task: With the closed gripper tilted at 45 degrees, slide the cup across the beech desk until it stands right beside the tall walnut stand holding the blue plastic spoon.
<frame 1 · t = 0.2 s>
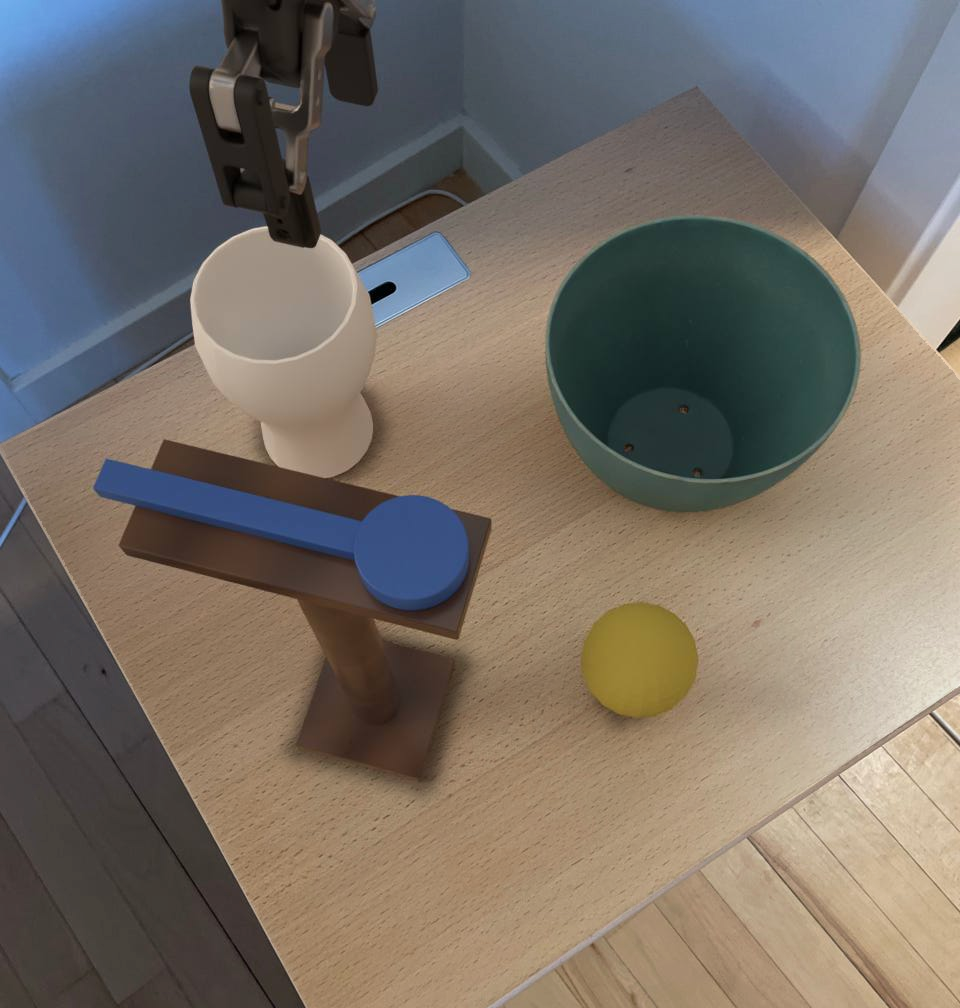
hand: (326, 167, 47), 25 cm above the table, tool pointing down, fingers open, 8 cm apart
spoon: (304, 531, 40), resting on spoon stand
spoon stand: (378, 705, 65), on the table
yellow ball: (625, 693, 65), on the table
cup: (318, 432, 72), on the table
plant pot: (668, 449, 71), on the table
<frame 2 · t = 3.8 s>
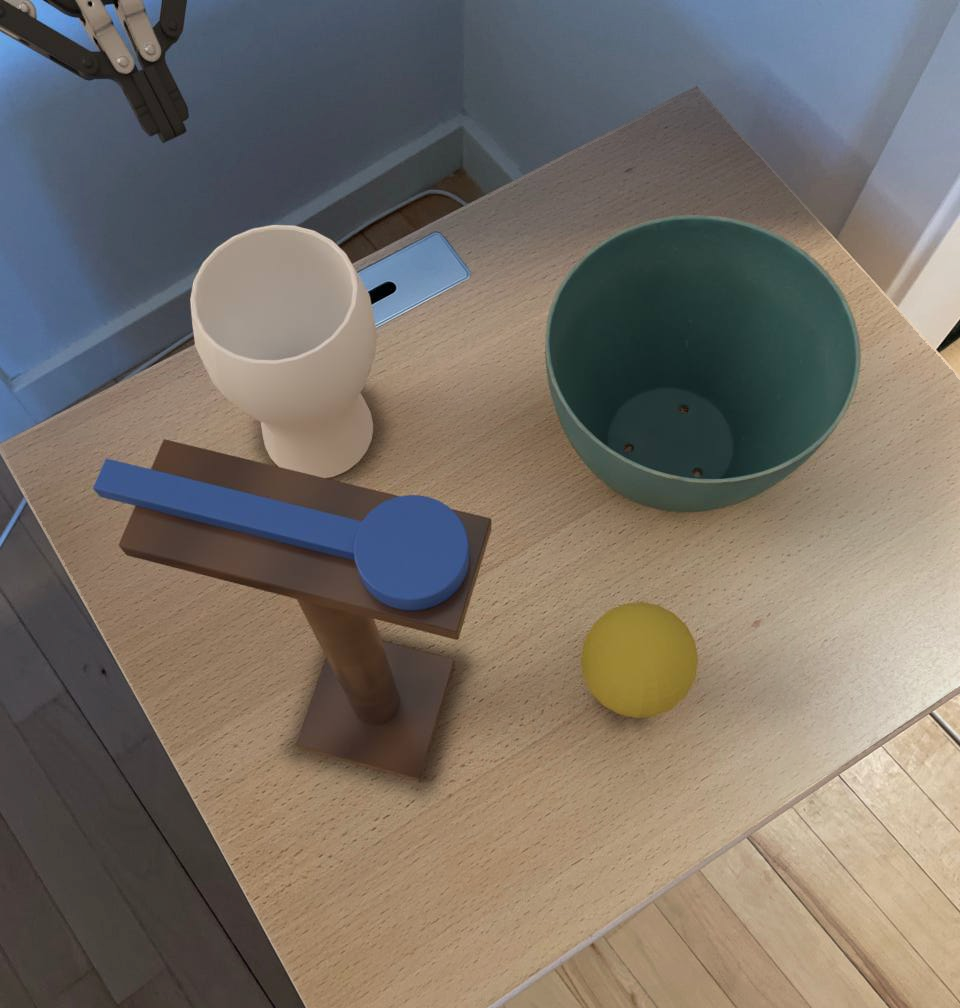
hand: (174, 136, 61), 15 cm above the table, tool tilted 45°, fingers closed
nothing on the table moved.
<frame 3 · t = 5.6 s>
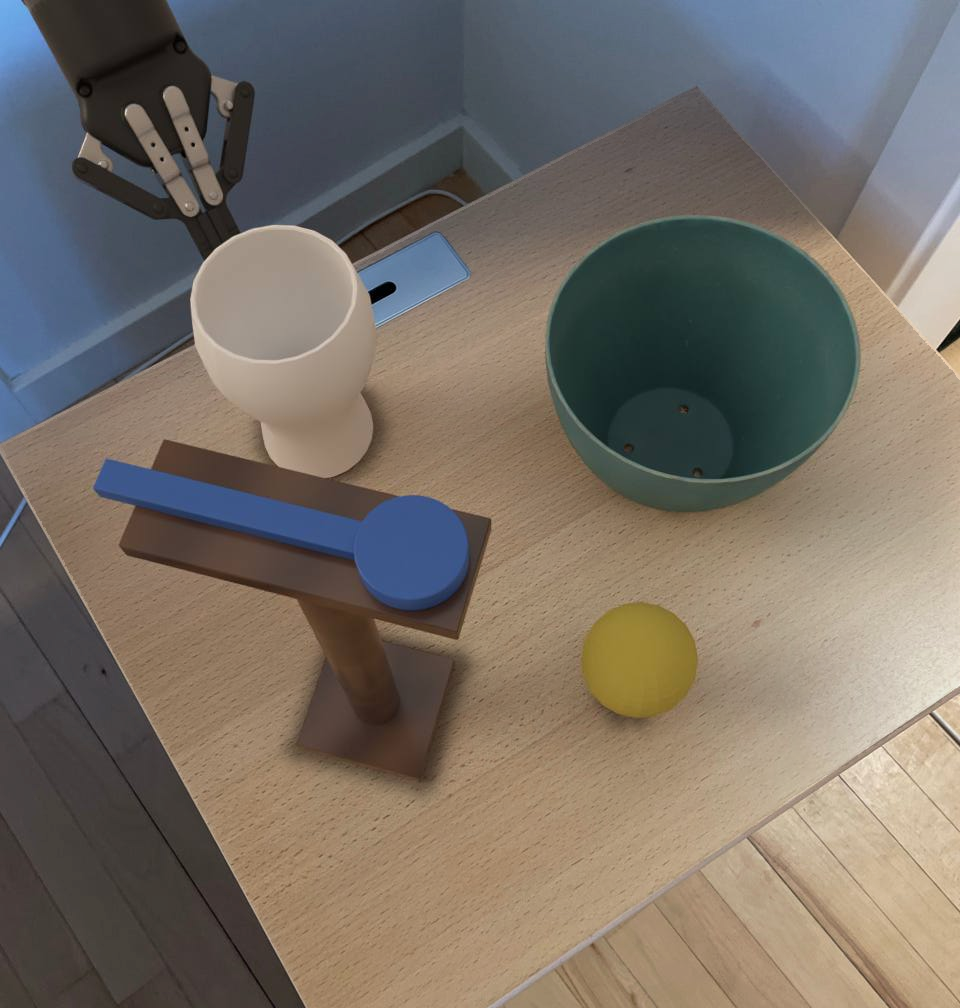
hand: (233, 267, 68), 7 cm above the table, tool tilted 45°, fingers closed
nothing on the table moved.
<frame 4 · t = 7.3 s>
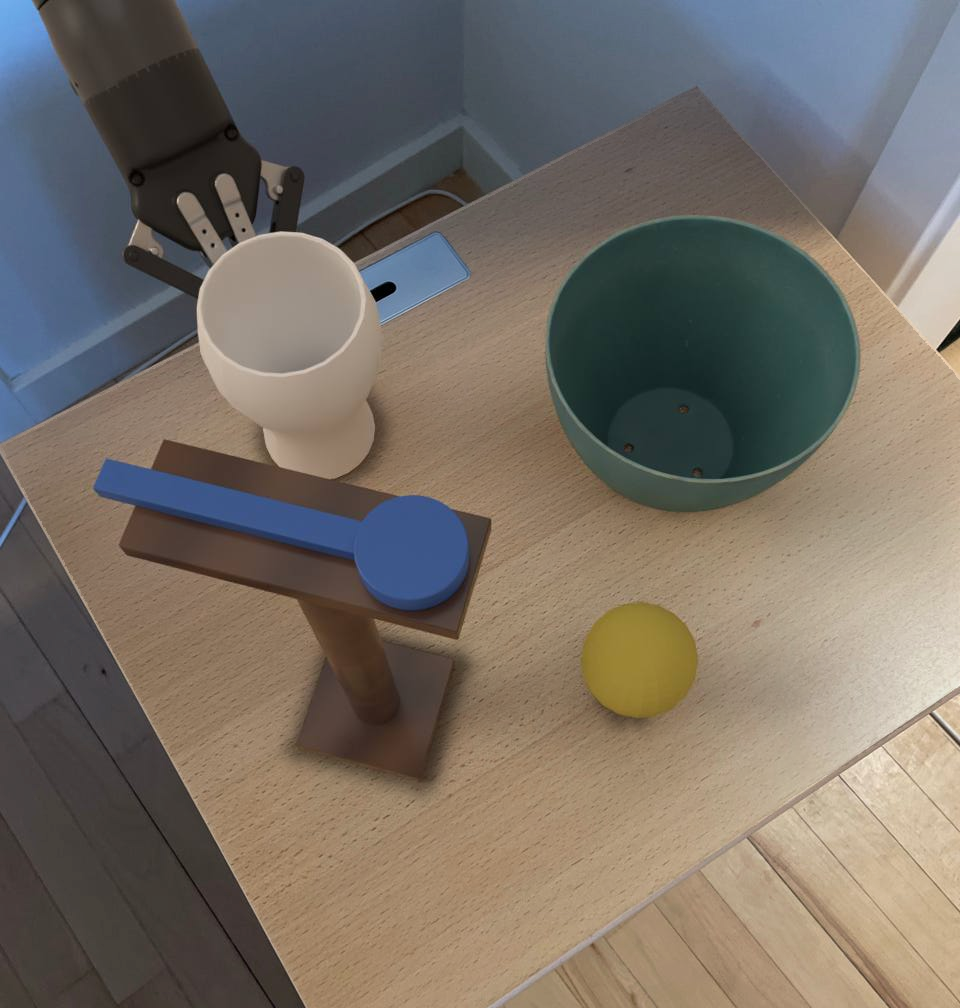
hand: (280, 346, 68), 5 cm above the table, tool tilted 45°, fingers closed
cup: (320, 432, 71), on the table, touching gripper
everything else where it was.
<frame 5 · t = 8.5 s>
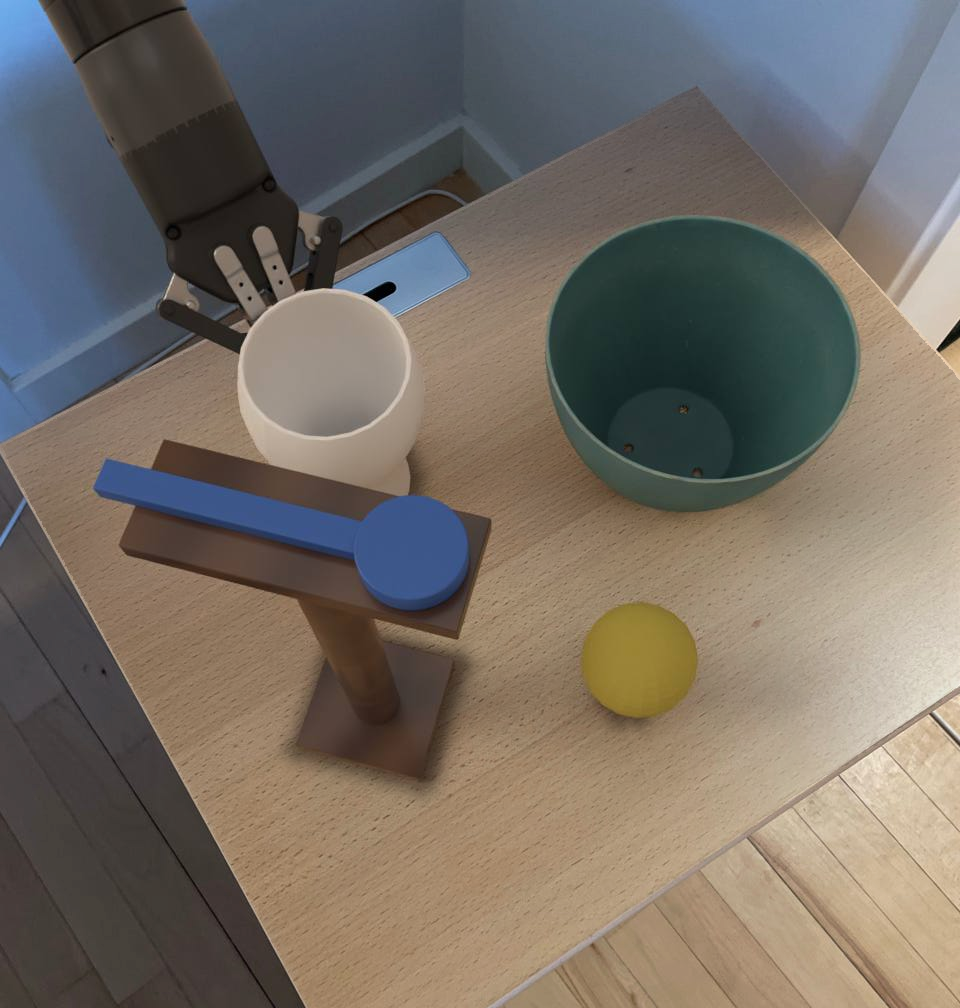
hand: (315, 397, 66), 5 cm above the table, tool tilted 45°, fingers closed
cup: (354, 482, 70), on the table, touching gripper
everything else where it was.
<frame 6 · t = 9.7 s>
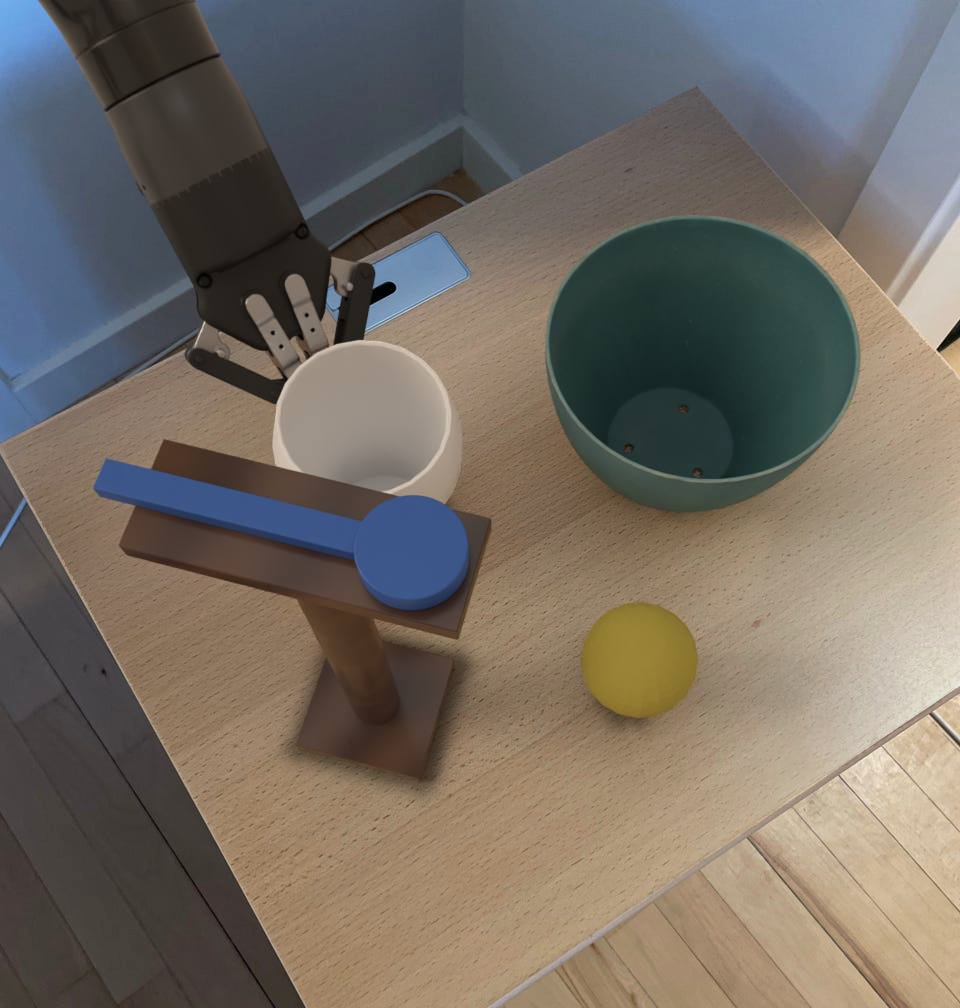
hand: (345, 443, 65), 5 cm above the table, tool tilted 45°, fingers closed
cup: (384, 526, 69), on the table, touching gripper
everything else where it was.
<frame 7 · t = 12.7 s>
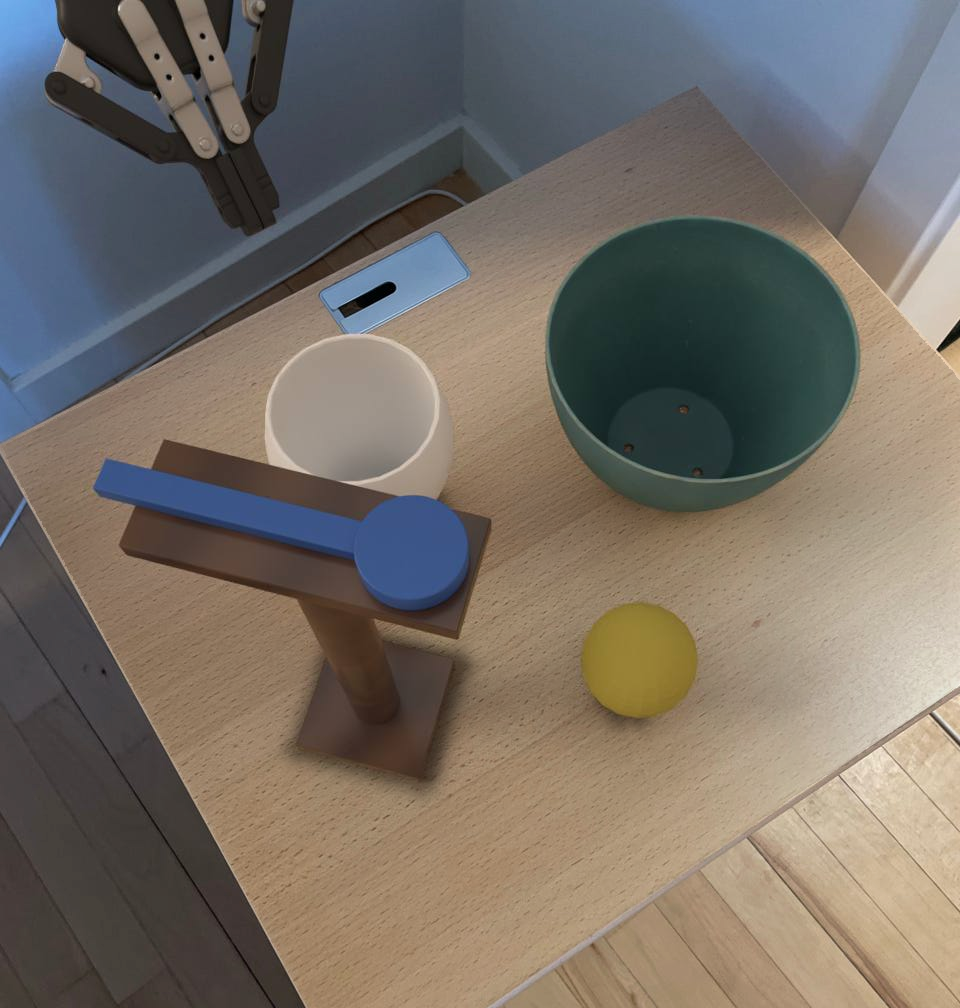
hand: (261, 229, 51), 21 cm above the table, tool tilted 45°, fingers closed
cup: (383, 528, 69), on the table
everything else where it was.
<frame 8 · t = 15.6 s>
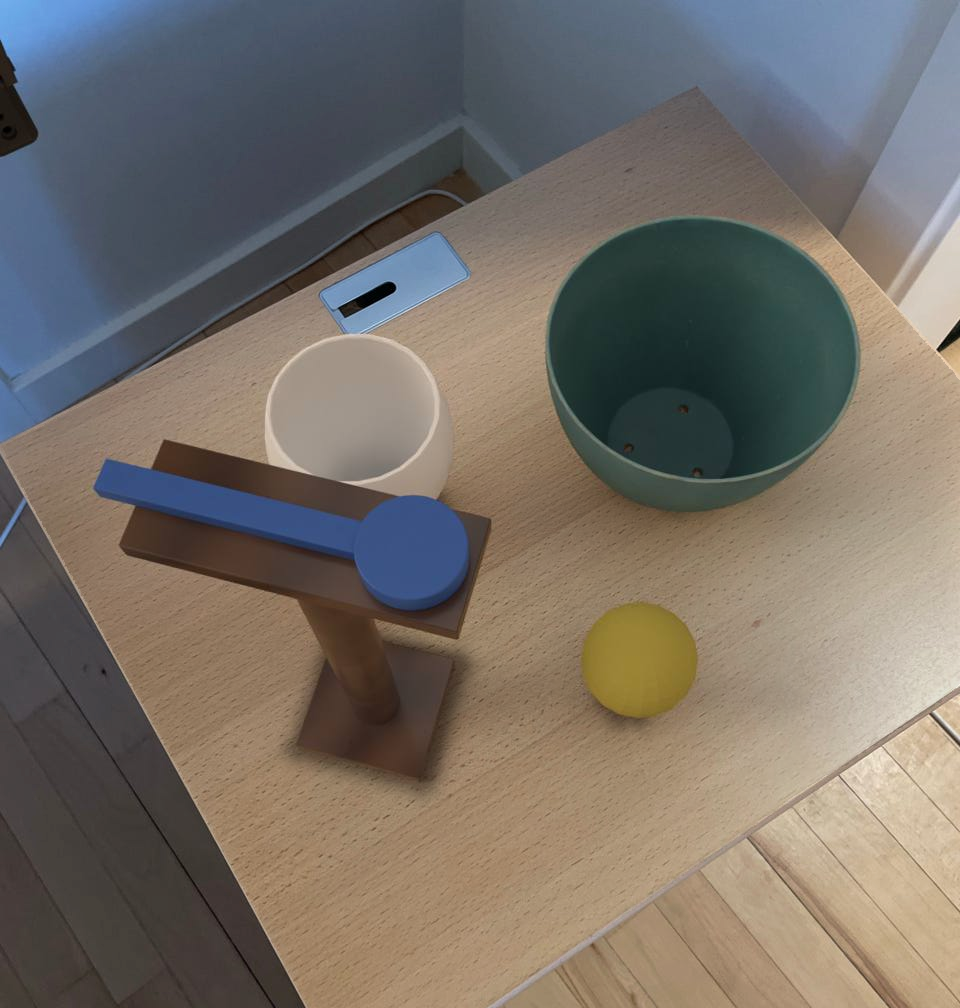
hand: (11, 138, 43), 29 cm above the table, tool pointing down, fingers closed
nothing on the table moved.
at the end: cup inside the target area under the spoon (3.0 cm from its centre), point -26.2 cm above the spoon's base; cup 12.5 cm from the spoon (horizontally); cup tilted 0° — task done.
